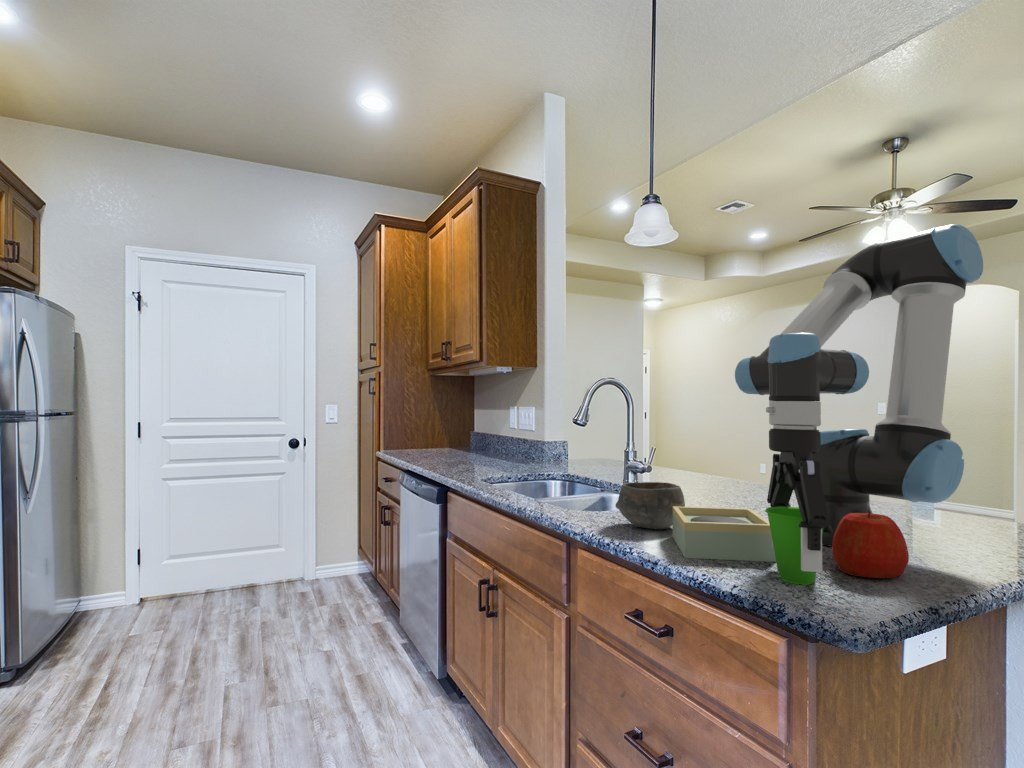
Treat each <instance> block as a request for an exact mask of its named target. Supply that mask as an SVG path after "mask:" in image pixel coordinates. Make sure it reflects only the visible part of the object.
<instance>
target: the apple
mask: <svg viewBox="0 0 1024 768" xmlns="http://www.w3.org/2000/svg"><path fill="white" fill-rule="evenodd" d="M831 550H832V551H831V552H832V558H833V561H834V562H835V564H836V565H837V567H838V568H839V570H840V571H841V572H843V573H845V574H847V575H852V576H854V577H862V578H868V579H892V578H898V577H899V576H900V575H902V574H904V572H905V570H906V568H907V566H908V564H909V558H910V557H909V556H910V555H909V549H908V544H907V542H906V539H905V537H904V535H903V533H902V530H901V529H900V527H899V525H898V524H897V523H896V521H894V520H893V519H892V518H891V517H889V516H887V515H885V514H878V513H873V512H872V513H871V512H870V511H868V513H849V514H847V515H846V516H844V517H843V518H842V519H841V521H840V522H839V524H838V527H837V529H836V531H835V534H834V536H833V543H832V546H831Z"/></svg>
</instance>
